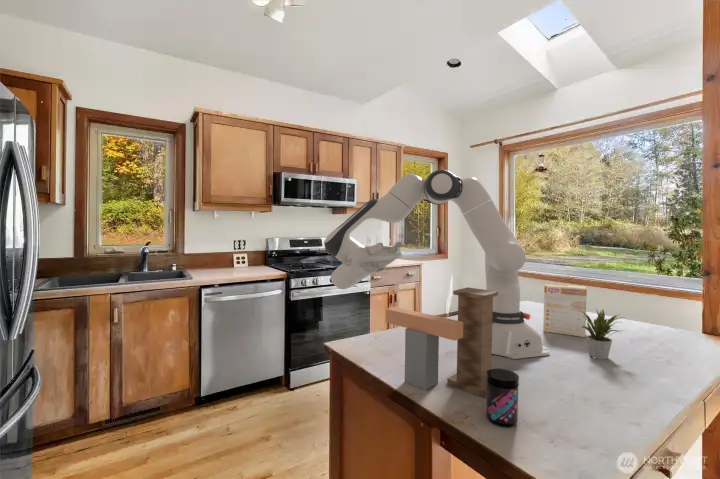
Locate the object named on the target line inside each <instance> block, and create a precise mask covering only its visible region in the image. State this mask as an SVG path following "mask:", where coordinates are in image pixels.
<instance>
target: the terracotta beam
mask: <svg viewBox="0 0 720 479" xmlns="http://www.w3.org/2000/svg"><path fill="white" fill-rule="evenodd" d="M385 323H388V324H391V325H395V326H398V327H402V328H405V329H406V328H409V329H413V330H417V331H420V332H424V333H428V334H432V335H435V336H439V338H443V339H446V340H451V341H455V342H456V341H457V340H458V339H460V338H462V337H463V322H461V321H458V319H457V320H456V319H452V318H447V317H444V316H439V315H434V314H429V313H424V312H420V311H415V310H410V309H407V308H402V307H396V306H392V307H388V308H385Z"/></svg>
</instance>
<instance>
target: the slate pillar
mask: <svg viewBox="0 0 720 479" xmlns="http://www.w3.org/2000/svg"><path fill="white" fill-rule="evenodd" d="M404 331H405V335H404V339H405V340H404V383H407V384H409V385H411V386H414V387H416V388H419V389H422V390H425V391H427V390H429V389H430V388H432V387H433V386H435V385H437V384H439V350H440V349H439V348H440V346H439V345H440V341H439V340H440V337H439V336H435V335H432V334H428V333H424V332H420V331H417V330H413V329H409V328H405V329H404Z"/></svg>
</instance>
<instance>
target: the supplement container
mask: <svg viewBox="0 0 720 479" xmlns="http://www.w3.org/2000/svg"><path fill="white" fill-rule="evenodd" d="M519 382H520V377H519V375H518V374H517V373H516V372H514V371H512V370H509V369H505V368H491V369H490V370H488V371H487V393H486V402H485V405H486V406H485V416H486V419H487V420H488V421H489V422H490V423H492V424H493V425H496V426H498V427H503V428H511V427H515V425H516V424H518V420H519V419H518V418H519V417H518V415H519V388H520V387H519V386H520V383H519Z"/></svg>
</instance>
